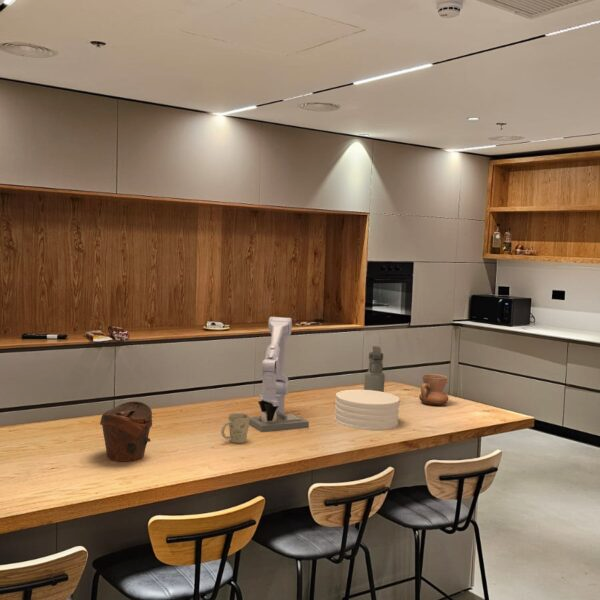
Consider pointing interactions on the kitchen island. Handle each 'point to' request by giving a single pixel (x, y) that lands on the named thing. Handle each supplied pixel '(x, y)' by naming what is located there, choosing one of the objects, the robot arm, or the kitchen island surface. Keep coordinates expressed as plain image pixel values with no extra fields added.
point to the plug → (264, 417)
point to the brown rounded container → (126, 430)
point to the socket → (277, 424)
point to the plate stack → (366, 409)
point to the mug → (237, 427)
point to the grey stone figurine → (375, 371)
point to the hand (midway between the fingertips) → (267, 419)
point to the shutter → (287, 417)
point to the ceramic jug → (433, 389)
